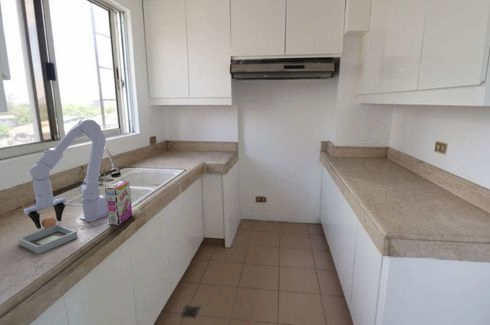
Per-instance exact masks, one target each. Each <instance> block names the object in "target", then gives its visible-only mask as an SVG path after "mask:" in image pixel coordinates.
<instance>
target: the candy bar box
mask: <svg viewBox="0 0 490 325" xmlns="http://www.w3.org/2000/svg"><path fill="white" fill-rule="evenodd" d="M130 185H131V184H130V181H124V180H122V181H121V180H120V181H117V182H116V183H113V184H111V185H109V186H107V187H104V192H105V193H104V194H105V198H106V202H107V211H108V215H107V219H108V225H109V226H120V225H121V224H123V223H124V222H126V220H128V219H129V218H130V217H132V216H133V208H132V199H131V187H130Z"/></svg>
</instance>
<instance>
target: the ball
mask: <svg viewBox="0 0 490 325" xmlns="http://www.w3.org/2000/svg"><path fill="white" fill-rule="evenodd" d="M40 224H41V227H43V229H47V228H49V227H52V226H55V225H57V219H56V217H54V216H51V215H50V216H46V217H44V218H43V219H42V220H41V221H40Z"/></svg>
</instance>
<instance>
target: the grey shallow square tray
mask: <svg viewBox="0 0 490 325" xmlns="http://www.w3.org/2000/svg"><path fill="white" fill-rule="evenodd" d="M57 232H59V233H62V234H64V235H62V236H57V235H55V234H54V235H52V234H53V233H57ZM49 235H51V236H49ZM45 236H48V237H47V238H43V237H45ZM41 238H43V239H41ZM77 238H78V232H77V231H76V230H74V229H71V228H68V227H67V226H62V225H60V224H56V225H55V226H52V227H49V228H43V229H41V230H39V231H36V232H33V233H31V234H28V235H25V236H22V237H20V238H18V242H19V245H20V246H22V247H24V248H26V249H27V250H30V251H32V252H34V253H35V254H38V255H39V254H41V253H44V252H47V251H49V250H51V249H54V248H56V247H58V246H60V245H63V244H64V243H67V242H70V241H72V240H75V239H77ZM38 239H41V240H38ZM36 240H38V241H36ZM33 241H36V244H35V243H33ZM37 244H39V245H37Z"/></svg>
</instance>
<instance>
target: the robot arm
mask: <svg viewBox="0 0 490 325" xmlns="http://www.w3.org/2000/svg"><path fill="white" fill-rule="evenodd" d="M85 135H86V136H87V137H88V138H89V139H90V141H91V147H90V152H89V158H88V162H87V163H88V164H87V169H86V173H85V177H84V179H83V182H82V184H80V186H79V192H80V194H81V195H82V197H81V198H80V200H81V205H82V206H81V207H82V212H83V216H81V217H79V219H80V220H83V221H86V222H94V221H95V220H99V219H101V218H103V217H106V216H107V217H108V211H107V202H106V196H104V195H102V194H101V195H100V193H101V192H100V188H99V187H100V186H99V185H100V182H99V181H100V180H99V177H100V172H101V166H102V162H103V156H104V151H105V145H106V137H105V135H104V133H103V131H102V128H101V126H100V124H98V123H97V122H96V121H95V119H94V120H93V119H91V118H82V119H80V120H79V121H78V122H77V123H76V124H74V125H73V126H72V127H71V128H70V129H69V130H68V132H67V133H66V134H65V135H64V137H62V139H61V140H60V141H59V142H58V144H57V145H56V146H55V147H50V148H48V150H47V149H45V150H44V151H43V153H44V154H43V155H42V156H41V157H40V158H39V159H38V160H36V161H35V162H34V164H33V165H32V166H31V167H30V170H29V173H30V176H31V177H32V178H31V180H32V187H33V188H32V189H33V194H34V198H35V203H36V204H34V205H31V206H29V207H26V208H24V209H23V214H24V215H27V216H28V217H29V218H30V219H31V220H32V222H33V223H34V225H35V227H36V229H37V230H38V229H42V224H41V221H40V220H41V218H40V217H41V216H40V215H41V214H40V213H39V211H41V210H44V209H48V208H51V207H53V209H54V213H55V219H56V222H60V223H61V222H62V217H63V212H64V210H65V208H66V203H67V200H66V197H60V198H56V199H54V194H53V189H52V183H51V180H50V178H49V177H50V174H51V172H50V171H52V170H53V169H54V168H55V167H56V166H57V165H58V163H59V162H60V161H61V160H62V159H63V157H64V152H65V151H66V150H67V148H69V146H71V144H72V143H73V142H74V141H76V139H78V138H82V137H84V136H85Z"/></svg>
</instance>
